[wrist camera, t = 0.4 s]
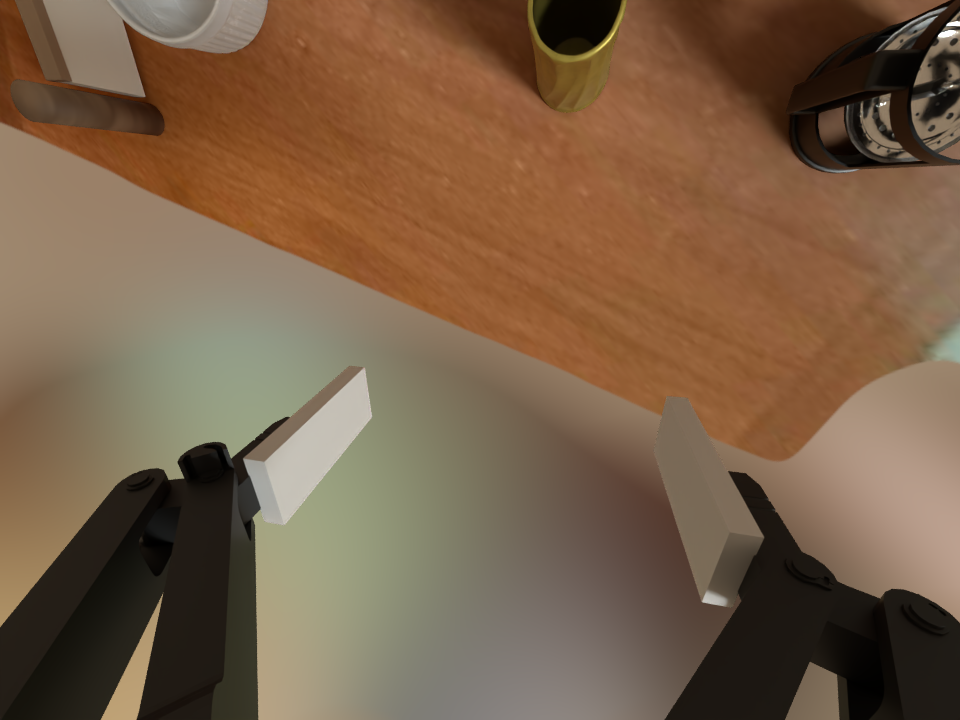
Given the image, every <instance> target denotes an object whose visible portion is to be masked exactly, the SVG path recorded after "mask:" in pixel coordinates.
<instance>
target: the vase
mask: <svg viewBox="0 0 960 720" xmlns="http://www.w3.org/2000/svg"><path fill="white" fill-rule="evenodd" d="M626 3H627V0H528V4H527V16H528V28H529V31H530V36H531V40H532V45H533V50H534V56H535V63H536V73H537V86H538V89H539V92H540V94H541V97H542V98H543V100H544V101H545V102H546V103H547V104H548V105H549V106H550V107H551V108H553V109H554V110H556V111H559V112H566V113H568V112H577V111H579V110H582V109H584V108H585V107H587V106H589V105H590V104H591V103H592V102H594V101H595V100H596V98H597V97H598V96H599V95H600V93H601V91H602V90H603V88H604V86H605V84H606V81H607V78H608V74H609V68H610V61H611V56H612V51H613V47H614V43H615V40H616V38H617V35H618V31H619V26H620V24H621V22H622V20H623V17H624V13H625V9H626Z"/></svg>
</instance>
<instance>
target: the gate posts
mask: <svg viewBox="0 0 960 720" xmlns="http://www.w3.org/2000/svg"><path fill="white" fill-rule="evenodd" d="M11 96H12V99H13V102H14V104H15V106H16V107H17V109H18V110H19V112H20V113H21V114H22V115H23V116H24V117H25V118H27V119H28V120H30V121H33V122H41V123H50V124H59V125H68V126H76V127H85V128H94V129H103V130H112V131H120V132H129V133H138V134H147V135H156V136H158V135H161V134H162V133H163V131H164V119H163V117H162V115H161V113H160V111H159V110H158V109H157V108H156V107H155V106H153V105H151V104H147V103H142V102H137V101H131V100H126V99H121V98H115V97H110V96H105V95H99V94H94V93H89V92H83V91H78V90H73V89H68V88H62V87H57V86H52V85H46V84H41V83H36V82H30V81H25V80H19V79H17V80H14V81H13V82H12V84H11Z"/></svg>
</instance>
